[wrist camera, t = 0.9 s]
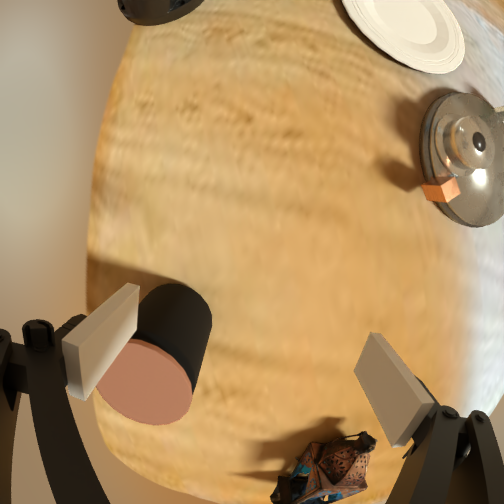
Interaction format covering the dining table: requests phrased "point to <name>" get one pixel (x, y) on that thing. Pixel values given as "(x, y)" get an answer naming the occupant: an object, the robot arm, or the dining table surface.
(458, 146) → the cover
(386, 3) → the plate
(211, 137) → the dining table surface
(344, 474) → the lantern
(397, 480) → the robot arm
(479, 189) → the turntable
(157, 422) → the coffee jar
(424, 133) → the turntable base
